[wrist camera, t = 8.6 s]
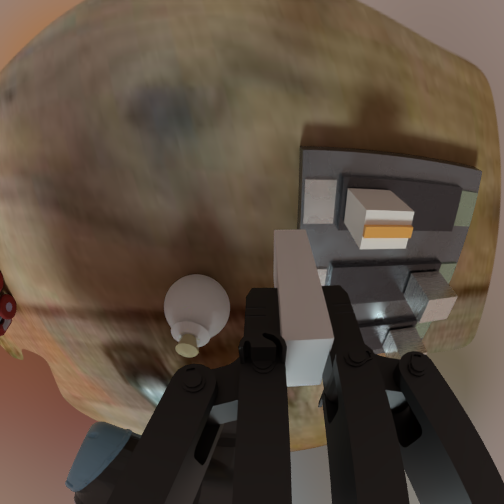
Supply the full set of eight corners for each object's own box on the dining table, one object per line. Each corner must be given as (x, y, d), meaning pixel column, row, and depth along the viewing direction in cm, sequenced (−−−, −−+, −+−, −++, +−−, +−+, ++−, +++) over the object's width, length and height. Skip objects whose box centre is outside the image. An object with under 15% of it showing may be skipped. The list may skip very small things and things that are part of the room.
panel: (287, 352, 32) (291, 395, 27) (299, 146, 20) (316, 165, 14) (414, 339, 32) (429, 374, 26) (473, 166, 19) (514, 190, 14)
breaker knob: (344, 222, 20) (361, 251, 17) (347, 188, 19) (368, 211, 15) (384, 222, 20) (407, 250, 17) (390, 190, 19) (416, 213, 15)
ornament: (229, 260, 25) (216, 347, 17) (236, 317, 29) (229, 399, 21) (166, 262, 25) (131, 342, 17) (182, 317, 29) (161, 394, 21)
